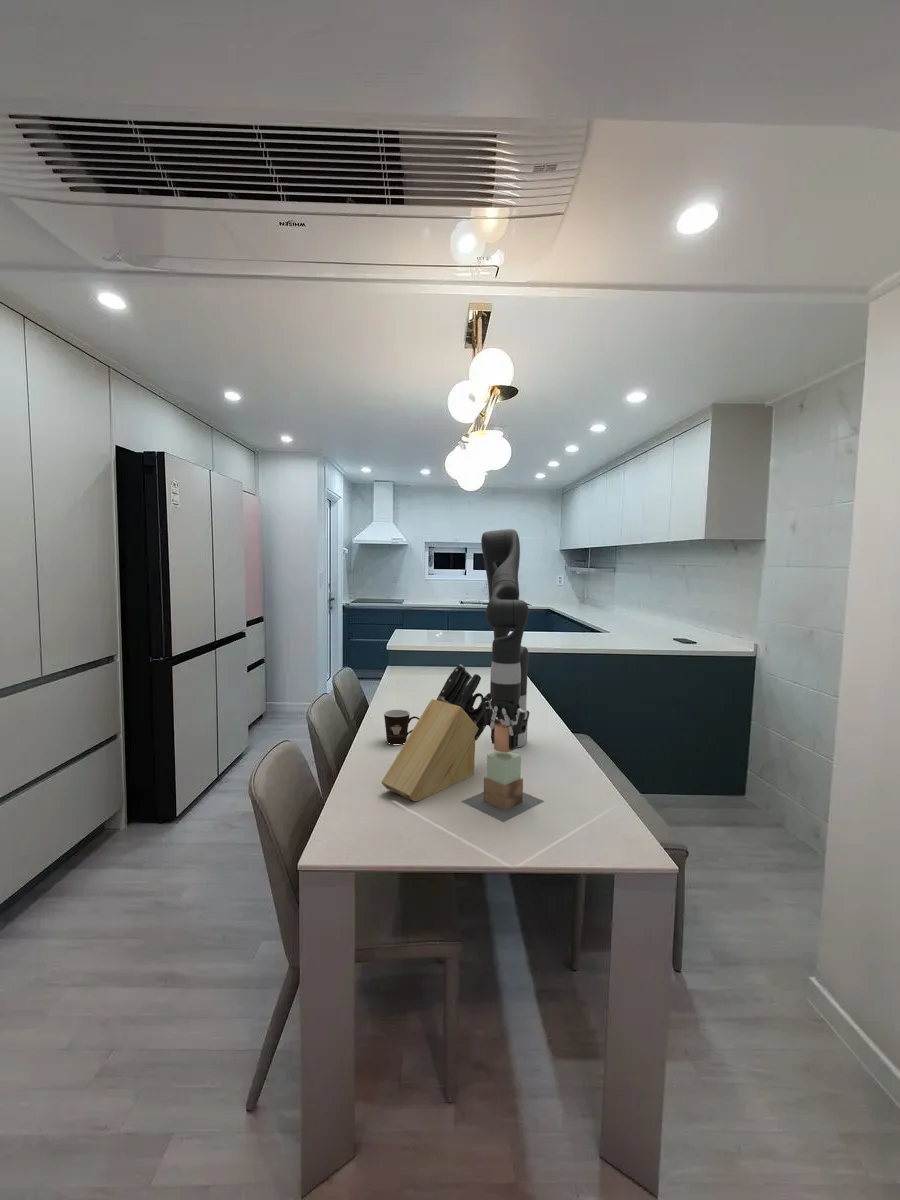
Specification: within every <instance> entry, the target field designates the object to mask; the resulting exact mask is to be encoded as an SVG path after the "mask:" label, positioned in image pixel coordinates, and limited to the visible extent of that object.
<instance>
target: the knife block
mask: <svg viewBox="0 0 900 1200" xmlns="http://www.w3.org/2000/svg"><path fill="white" fill-rule="evenodd" d="M481 680H482V678H481V676H480V675H479V674H477V673H475V674H473V676H472V675H471V674H470V673H469V672H468V671H467V670H466V667H465V666H464V665H463V664H459V665H457V666H456V667H455V668H454V669H453V671H452V672H451V673H450V674H449V676H448V677H447V679H446V680H445V683H444V685H443V686H442V689H441V691H440V692H439V694H438V695H437V698H436V699H434V698H432V699H431V700H430V701H429V703H427V704H428V705H427V706H425V707H426V708H425V709H424V711H423V713H422V714H421V716H420V717H419V718H420V719H419V720H418V719H417V720H418V721H417V722H416V723H415V725H414V727H413V729H411V730H412V732H411V733H409V734H408V736H407V739H406V742H405V744H403V745H402V746H401V749H400V750H399V752H398V753H397V756H396V757H395V759H394V761H393V763H392V764H391V765H390V767H389V768H388V770H387V772H386V774H385V776H384V778H383V779H382V781H381V783H380V784H382V786H383V787H385V788H386V789H387V790H390V791H391V792H393V793H396V794H398V795H400V796H402V797H403V798H406V799H408V800H411V801H413V802H415V803H416V802H418V801H422V800H424V799H426V798H428V797H430V796H432V795H435V794H437V793H438V792H441V791H443V790H445V789H447V788H448V787H450V786H452V785H454V784H458V783H459V782H461V781H464V780H465V779H467V778H471V777H473V776H474V775H475V757H476V755H475V754H476V753H475V752H476V741H477V740H479V738H480V736H481V735H482V733H483V732H484V730H485V729H486V727H487V725H485V721H484V715H483V708H482V702H485V701H489V700H490V701H491V700H492V698H491V697H490V692H488V693H487V694H486V695H485V696H484V695H483V693H480V692H476V690H477V688H478V686H479V685H480V682H481ZM475 692H476V693H475ZM474 693H475V694H474ZM478 697H480V700H481V701H480V703H479V705H478V706H477V707H476V708H474V705H475V702H476V699H477V698H478ZM488 717H489V715H488ZM489 720H490V719H489Z"/></svg>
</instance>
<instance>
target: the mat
mask: <svg viewBox="0 0 900 1200" xmlns="http://www.w3.org/2000/svg"><path fill="white" fill-rule="evenodd" d="M483 796H484V791H483V792H480V793H477V794H475V795H473V796H470V797H468V798H466V799H464V800H461V801H460V802H461V803H462V804H465V805H467V806H469V807H472V808H473V809H475V810H478V811H480V812H482V813H484V814H486V815H488V816H490V817H492V818H493V819H495V820H498V821H500V822H502V823H505V822H507V821H509V820H510V819H512V818H515V817H516V816H518V815H520V814H523V813H524V812H526V811H528V810H530V809H532V808H534V807H536V806H538V805H540V804H543V803H544V802H545V800H543V799H541V798H538V797H536V796H533V795H532V794H528V793H526V792H524V791H523V802H521V803H519V804H517V805H515V806H513V807H511V808H509V809H507V810H505V811H504V810H502V809H500V808H498V807H496V806H494V805H491V804H489V803H487V802H485V801H483Z"/></svg>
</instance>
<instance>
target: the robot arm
mask: <svg viewBox="0 0 900 1200" xmlns="http://www.w3.org/2000/svg"><path fill="white" fill-rule="evenodd" d="M480 541H481V550H482V557H483V562H484V567H485V572H486V580H487V587H488V588H487V589H488V599H489V600H488V603H487V606H486V609H485V621H486V623H487V624H488V626H490V627H492V629H493V630H492V631H493V641H492V643H491V644H492V645H491V648H492V649H491V653H492V654H491V667H490V685H489V686H490V687H489V691H490V692H489V693H490V697H491V698H492V699H491V701H490V700H489V701H485V702H482V708H483V715H484V721H485V725H486V726H489V728H490V740H491V744H493V745H494V725H495V724H496V723H498V722H506V726H507V727H508V729H509V733H510V735H509V749H510V750H513V751H514V750H516V749H517V748H521V747H524V746H526V743H528V725H529V724H528V721H529V717H530V711H529V710H527V698H528V697H527V696H528V694H527V692H528V691H527V690H528V673H529V672H528V671H529V662H530V661H529V659H530V657H529V655H530V654H529V649H528V648H527V647H526V646H522V640H523V637H524V632H525V628H526V626H527V623H528V620H529V615H530V608H529V606H528V604H527V603H526V601H524V600H521V599H519V598H520V586H519V570H520V561H521V560H520V558H521V557H520V556H521V544H520V537H519V534H518V532H517V530H516V529H513V528H505V529H497V530H487V531H484V532H483V533H482V534H481V539H480ZM498 562H502V563H501V564H500V565H499V566H497V563H498ZM512 629H513V630H512ZM510 632H511V633H510ZM488 715H489V717H488ZM489 719H490V720H489ZM513 727H514V729H513Z"/></svg>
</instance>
